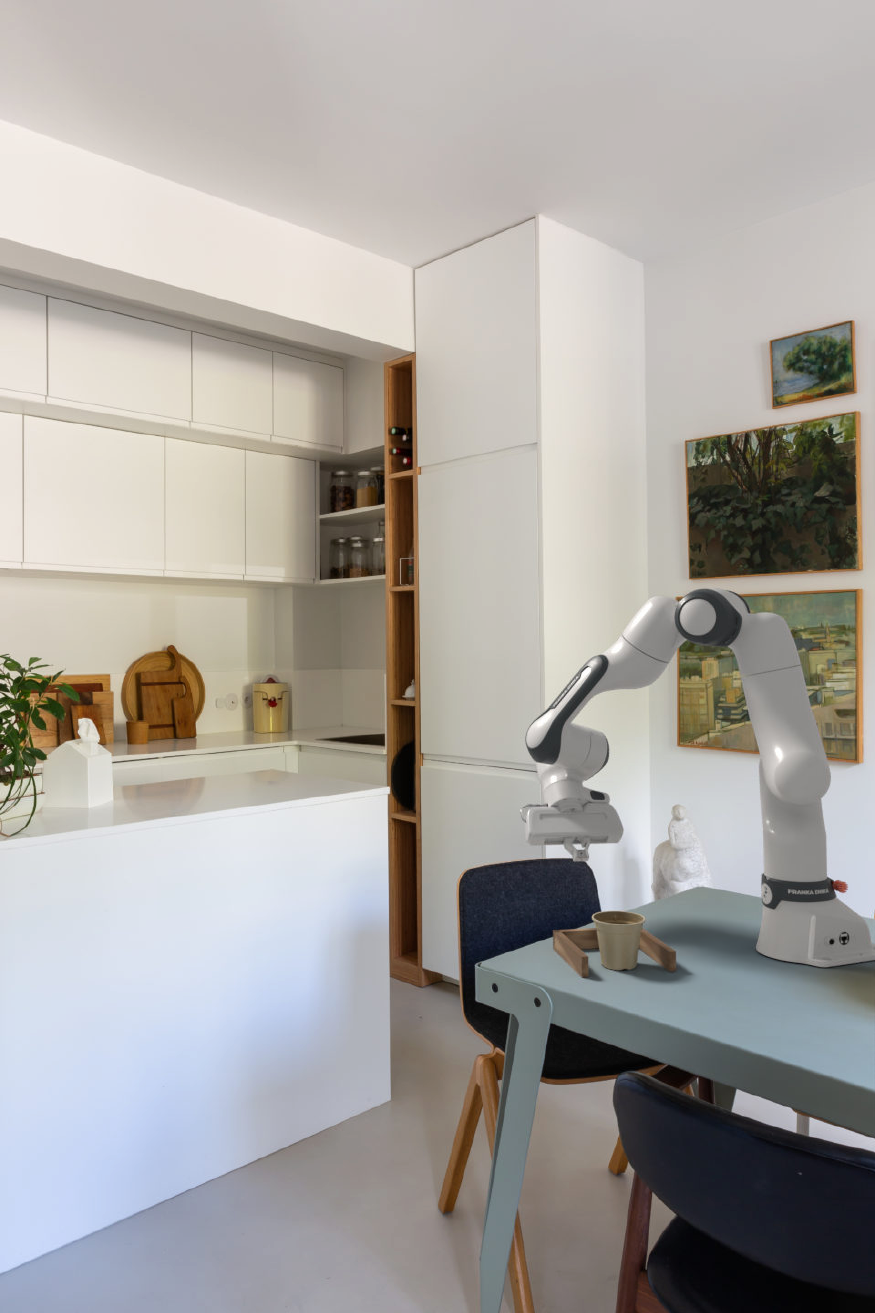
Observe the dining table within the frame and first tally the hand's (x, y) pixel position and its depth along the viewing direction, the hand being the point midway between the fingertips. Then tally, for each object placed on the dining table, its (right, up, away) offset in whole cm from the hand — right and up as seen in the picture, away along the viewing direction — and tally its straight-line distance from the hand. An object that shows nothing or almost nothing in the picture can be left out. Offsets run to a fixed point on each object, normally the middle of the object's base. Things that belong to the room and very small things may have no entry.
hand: (581, 859), depth 186 cm
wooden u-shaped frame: (+3, -15, -16) cm, 22 cm away
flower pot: (+4, -15, -20) cm, 25 cm away
